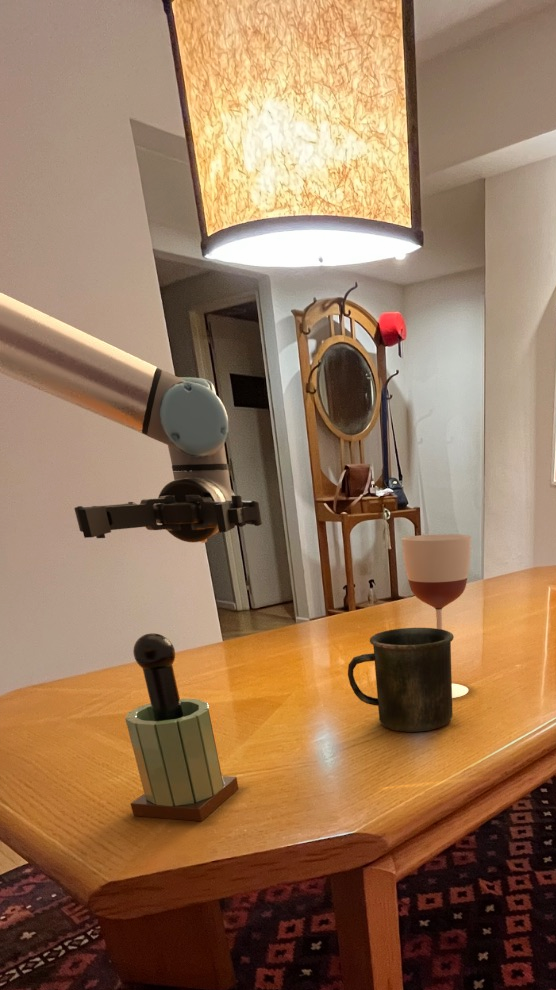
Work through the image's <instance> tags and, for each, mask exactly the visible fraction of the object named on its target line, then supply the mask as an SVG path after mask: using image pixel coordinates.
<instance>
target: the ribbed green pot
mask: <svg viewBox="0 0 556 990" xmlns="http://www.w3.org/2000/svg"><path fill="white" fill-rule="evenodd" d="M180 702H181V707H182V712H183V716H184V717H181V718H178V719H172V720H164V721H155V719H154V715H153V711H152V706H151V702H150V703H147V704H143V705H141V706H138V707H135V708H134V709H132V710H130V711H128V712H127V713H126V716H125V723H126V726H127V727H126V728H127V730H128V735H129V739H130V743H131V746H132V751H133V755H134V759H135V763H136V766H137V770H138V773H139V777H140V782H141V786H142V789H143V794H145V798H146V799H147V800H148V801H150V802H151V803H153V804H156V805H162V806H174V805H175V806H180V805H186V804H193V803H194V801H195V802H199V801H202V800H204V799H207V798H210V797H212V795H216V794H217V793H218V792H219V791H220V790H221V789H223V787H224V780H223V776H224V775H223V770H222V765H221V760H220V756H219V750H218V745H217V740H216V735H215V729H214V724H213V720H212V714H211V709H210V704H209V703H208V702H206V701H204V700H201V699H197V698H180Z"/></svg>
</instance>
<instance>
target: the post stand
mask: <svg viewBox="0 0 556 990" xmlns="http://www.w3.org/2000/svg"><path fill="white" fill-rule="evenodd" d="M132 651H133V657H134V660H135V661H136V663H137V665H138V666H139V667H140V668H142V672H143V677H144V681H145V685H146V689H147V693H148V698H149V702H150V703H151V706H152V711H153V715H154V719H155V721H164V720H172V719H178V718H181V717H184V716H183V712H182V707H181V702H180V699H181V698H180V694H179V689H178V685H177V679H176V675H175V671H174V666H173V664H174V662H175V660H176V649H175V646H174V645H173V643H172V642H171V641H170V639H169V638H167V637H166V636H164V635H162V634H159V633H152V632H151V633H146V634H143V635H141V636H140V637H138V639H137V640H136V641H135V643H134V645H133V650H132ZM223 780H224V787H223V789H221V790H220V791H219V792H218V793H217V794H216V795H212V797H210V798H207V799H204V800H202V801H199V802H195V801H194V803H193V804H186V805H180V806H175V805H174V806H162V805H156V804H153V803H151V802H150V801H148V800H147V799H146V798H145V794H144V793H143V794H141V795H140V796H139V797H137V798H136V799H135V800H133V801H132V802H130V807H131V811H132V814H133V816H134V817H145V818H154V819H155V818H156V819H167V820H179V821H180V820H181V821H192V822H203V821H204V820H205V819H206V818H208V816H209V815H210V814H212V813H214V811H215V810H216V809H217V808H218V807H219V806H221V805H222V804H223V803H225V802H226V800H228V799H229V798H230V797H231V796H232V795H233V794H234V793H236V791H238V790H239V784H238V778H237V776H228V775H227V776H226V775H223Z"/></svg>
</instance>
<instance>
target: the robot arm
mask: <svg viewBox="0 0 556 990" xmlns="http://www.w3.org/2000/svg"><path fill="white" fill-rule="evenodd" d="M0 374H1V375H4V376H6V377H9V378H11V379H13V380H16V381H18V382H20V383H23V384H26V385H27V386H30V387H32V388H35V389H37V390H39V391H41V392H43V393H46V394H49V395H51V396H53V397H56V398H57V399H60V400H63V401H65V402H68V403H70V404H72V405H75V406H77V407H79V408H81V409H84V410H86V411H89V412H91V413H93V414H95V415H98V416H100V417H102V418H105V419H107V420H110V421H112V422H114V423H117V424H119V425H121V426H123V427H126V428H129V429H131V430H133V431H135V432H138V433H140V434H142V435H145V436H146V437H148V438H150V439H153V440H155V441H158V442H160V443H162V444H165V445H167V448H168V453H169V458H170V462H171V463H170V464H171V469H172V475H173V480H172V481H169V482H168V483H167V484H166V485H164V486H163V488H161V490H160V492H159V494H158V497H157V498H144V499H141V500H140V503H139V504H138V503H137V502H133V501H128V502H127V503H119V504H108V505H107V504H106V505H92V506H82V505H78V506H76V507H75V506H74V509H73V510H74V512H75V517H76V521H77V525H78V529H79V531H80V532H81V533H82V534H83V537H84V539H88V538H95V537H96V539H106V534H110V533H112V531H115V530H125V529H126V530H127V529H135V528H145V529H146V530H148V531H162V530H165V531H167V532H168V533H169V534H170V535H172V536H173V537H175V538H176V539H178V540H180V541H181V542H182V541H183V542H186V543H202V544H204V543H207V542H208V539H209V538H211V537H212V536H214V535H216V534H220V533H227V532H229V531H231V530H233V529H235V528H236V526H237V527H239V528H243V527H245V526H246V525H251V526H255V527H259V526H261V525H263V520H262V513H261V505H260V501H258V500H256V499H255V500H243V497H242V494H238V495H235V493H234V490H233V489H232V486H231V480H230V473H229V468H228V464H227V457H226V449H225V443H226V442H227V440H228V437H229V435H230V434H229V433H230V429H229V427H230V426H229V425H230V422H229V415H228V413H227V410H226V407H225V405H224V403H223V401H222V400H221V398H220V397H219V396H218V395H217V394H216V389H215V385H214V384H213V383H212V382H211V381H210V379H209V380H208V379H205V378H203V377H202V378H201V377H189V376H188V377H179V376H177V375H175V374H173V373H170V372H168V371H165V370H163V369H161V368H158V367H157V366H155V365H154V364H152V363H149V362H148V361H145V360H143V359H141V358H139V357H138V356H134V355H132V354H130V353H128V352H126V351H124V350H122V349H120V348H118V347H116V346H114V345H112V344H109V343H107V342H105V341H103V340H102V339H99V338H97V337H95V336H94V335H93V336H92V335H91V334H89V333H86V332H84V331H83V330H80V329H78V328H76V327H74V326H72V325H70V324H68V323H65V322H63V321H61V320H59V319H57V318H55V317H53V316H51V315H49V314H46V313H44V312H42V311H40V310H38V309H36V308H34V307H32V306H30V305H28V304H26V303H23V302H21V301H19V300H17V299H15V298H13V297H11V296H9V295H6V294H5V293H2V292H0Z"/></svg>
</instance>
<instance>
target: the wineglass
mask: <svg viewBox="0 0 556 990" xmlns="http://www.w3.org/2000/svg"><path fill="white" fill-rule="evenodd" d="M401 544H402V553H403V561H404V567H405V573H406V576H407V581H408V584H409V587H410V591H411V593H412V594H413V595H414V596H415V597H416V599H418V600H420V601H421V602H423V603H425V604H427V605H428V606H430V607H432V608H434V609H435V620H436V629H442V630H443V608H445V607H446V606H448V605H449V604H451V603H453V602H455V601H456V600H457V599H459V598H460V597H461V596H462V594H463V593H464V592H465V590H466V588H467V582H468V576H469V572H470V571H469V570H470V565H471V564H470V563H471V553H472V552H471V551H472V536H471V535H469V534H453V533H452V534H451V533H450V534H449V533H448V534H446V533H445V534H444V533H443V534H441V533H439V534H421V535H410V536H405V537H401ZM467 693H469V688H468V687H467V686H465V685H462V684H458V683H453V682H452V699H456V698H460V697H463V696H465V695H466V694H467Z"/></svg>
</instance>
